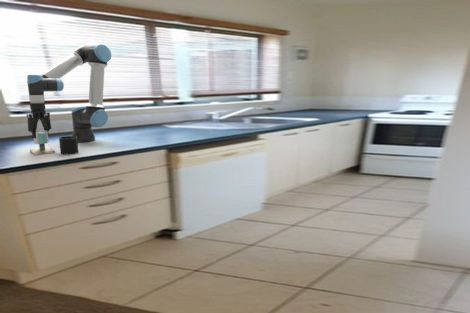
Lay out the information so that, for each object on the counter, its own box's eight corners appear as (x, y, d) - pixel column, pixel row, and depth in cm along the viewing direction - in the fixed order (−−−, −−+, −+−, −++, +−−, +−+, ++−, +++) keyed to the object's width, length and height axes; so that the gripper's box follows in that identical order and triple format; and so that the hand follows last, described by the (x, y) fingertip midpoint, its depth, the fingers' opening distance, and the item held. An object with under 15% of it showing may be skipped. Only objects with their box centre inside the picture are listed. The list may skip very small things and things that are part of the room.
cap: (42, 141, 212) (41, 131, 211) (49, 142, 210) (48, 132, 208) (33, 143, 206) (32, 133, 205) (40, 144, 204) (39, 133, 203)
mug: (70, 149, 217) (69, 135, 215) (81, 152, 210) (80, 137, 208) (55, 152, 210) (53, 137, 208) (65, 155, 203) (64, 139, 201)
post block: (51, 149, 217) (50, 140, 216) (55, 152, 209) (54, 143, 207) (30, 151, 210) (29, 142, 209) (33, 155, 202) (32, 145, 201)
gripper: (46, 101, 213) (50, 139, 218) (17, 103, 196) (21, 144, 201) (56, 101, 210) (59, 140, 215) (26, 103, 193) (31, 145, 198)
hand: (41, 142), depth 208 cm, fingers closed on cap, 6 cm apart
